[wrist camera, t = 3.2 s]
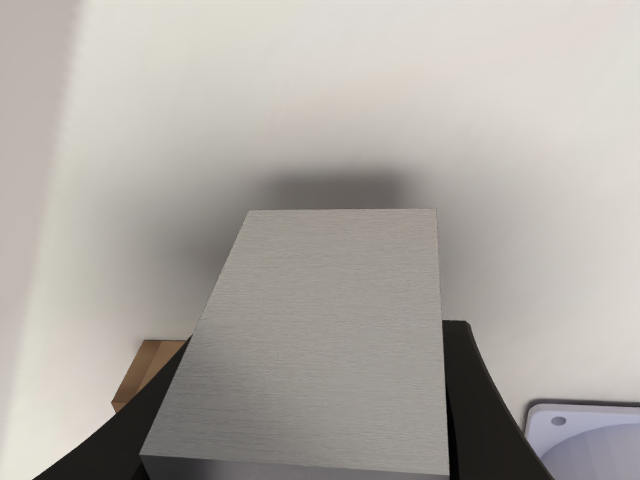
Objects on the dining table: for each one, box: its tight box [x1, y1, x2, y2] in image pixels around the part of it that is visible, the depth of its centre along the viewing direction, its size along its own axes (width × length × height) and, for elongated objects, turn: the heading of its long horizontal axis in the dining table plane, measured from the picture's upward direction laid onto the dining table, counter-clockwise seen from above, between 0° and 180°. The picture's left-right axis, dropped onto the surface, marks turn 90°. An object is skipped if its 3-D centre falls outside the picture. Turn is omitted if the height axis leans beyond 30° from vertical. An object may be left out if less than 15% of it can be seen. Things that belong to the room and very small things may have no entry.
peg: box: [139, 208, 450, 480], centre depth 12 cm, size 5×5×7 cm
